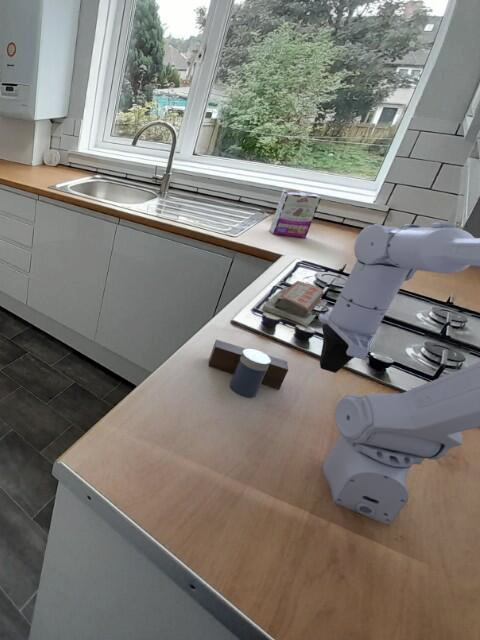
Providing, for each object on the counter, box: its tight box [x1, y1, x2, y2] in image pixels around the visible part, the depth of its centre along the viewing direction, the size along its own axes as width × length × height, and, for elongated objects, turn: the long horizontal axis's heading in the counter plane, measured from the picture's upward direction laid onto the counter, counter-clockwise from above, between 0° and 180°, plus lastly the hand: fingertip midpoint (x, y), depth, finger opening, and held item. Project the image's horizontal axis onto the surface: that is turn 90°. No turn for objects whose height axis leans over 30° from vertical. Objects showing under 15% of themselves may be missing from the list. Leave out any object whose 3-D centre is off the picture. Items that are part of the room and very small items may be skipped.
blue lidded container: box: [228, 348, 271, 399], centre depth 76 cm, size 8×4×10 cm, turn 149°
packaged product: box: [262, 280, 328, 328], centre depth 107 cm, size 18×5×10 cm
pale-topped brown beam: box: [207, 339, 289, 391], centre depth 81 cm, size 3×12×6 cm, turn 58°
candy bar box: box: [269, 190, 322, 239], centre depth 157 cm, size 11×5×16 cm, turn 73°
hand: (327, 368), depth 69 cm, fingers closed
